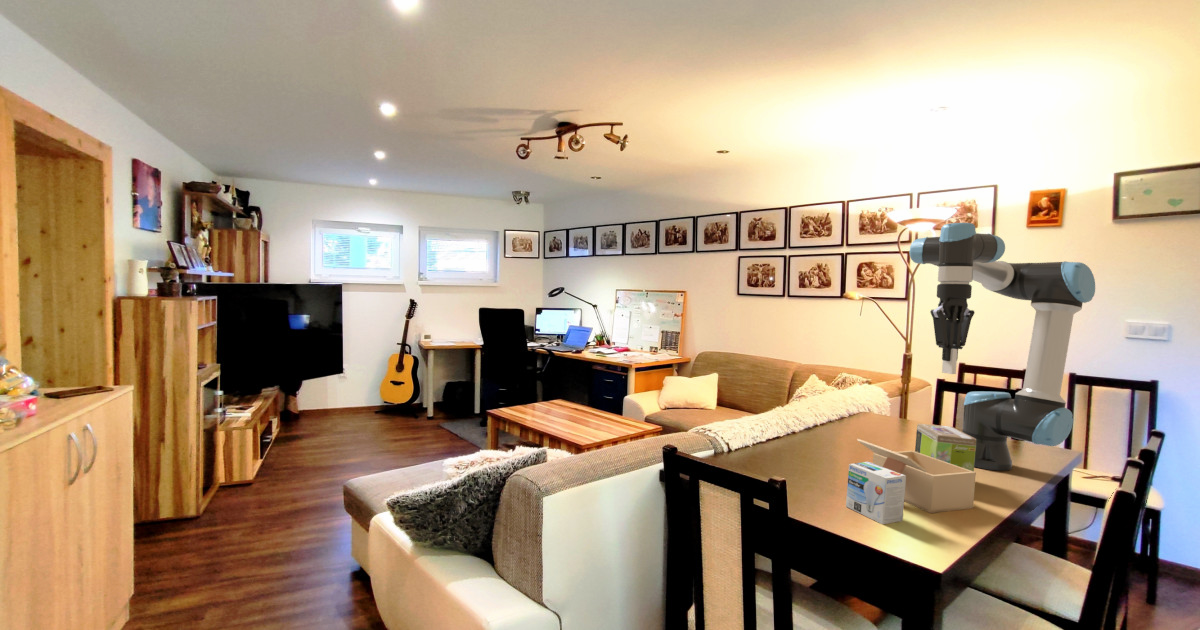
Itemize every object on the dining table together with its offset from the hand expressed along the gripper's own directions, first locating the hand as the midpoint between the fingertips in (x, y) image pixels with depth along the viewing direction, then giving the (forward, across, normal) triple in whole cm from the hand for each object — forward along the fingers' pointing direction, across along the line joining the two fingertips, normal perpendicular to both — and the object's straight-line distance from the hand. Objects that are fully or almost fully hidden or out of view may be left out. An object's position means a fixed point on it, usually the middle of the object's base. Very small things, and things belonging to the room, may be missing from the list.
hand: (948, 373), depth 140 cm
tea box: (+33, -9, -7) cm, 35 cm away
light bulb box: (+32, +30, +7) cm, 44 cm away
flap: (+20, +19, +1) cm, 27 cm away
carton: (+32, +8, +1) cm, 33 cm away
